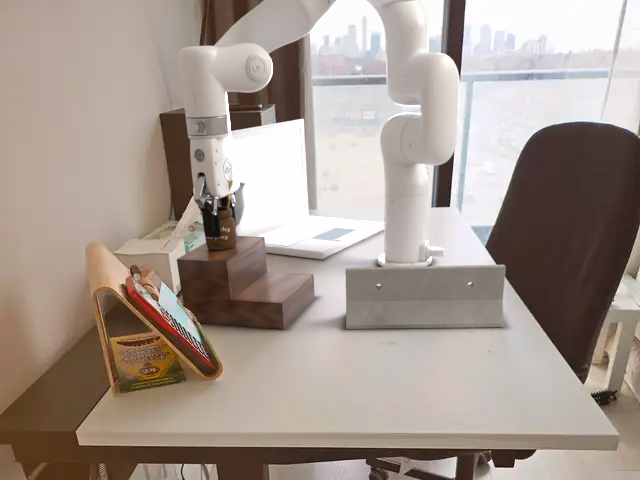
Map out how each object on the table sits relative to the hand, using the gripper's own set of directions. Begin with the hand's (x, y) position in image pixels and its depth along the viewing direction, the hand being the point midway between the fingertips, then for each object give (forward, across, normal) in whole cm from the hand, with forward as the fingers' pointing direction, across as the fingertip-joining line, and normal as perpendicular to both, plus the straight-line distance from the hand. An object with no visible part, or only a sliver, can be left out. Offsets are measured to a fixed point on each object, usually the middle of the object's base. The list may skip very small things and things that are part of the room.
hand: (221, 231), depth 122 cm
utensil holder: (+3, 0, 0) cm, 3 cm away
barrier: (+15, 0, -39) cm, 42 cm away
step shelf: (+15, 0, -5) cm, 16 cm away
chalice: (+15, +31, +12) cm, 36 cm away
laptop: (+15, +56, +1) cm, 58 cm away
